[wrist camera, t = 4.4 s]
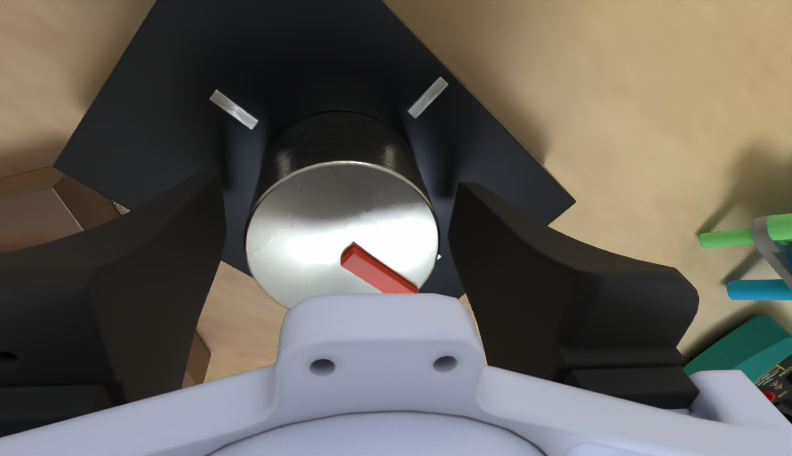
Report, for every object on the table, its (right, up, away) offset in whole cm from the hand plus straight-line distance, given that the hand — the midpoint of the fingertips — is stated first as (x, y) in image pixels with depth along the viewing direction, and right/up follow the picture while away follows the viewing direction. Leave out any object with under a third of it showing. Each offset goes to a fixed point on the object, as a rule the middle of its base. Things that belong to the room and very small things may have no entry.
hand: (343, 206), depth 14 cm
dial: (0, +1, +1) cm, 1 cm away
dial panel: (-1, +2, +4) cm, 4 cm away
